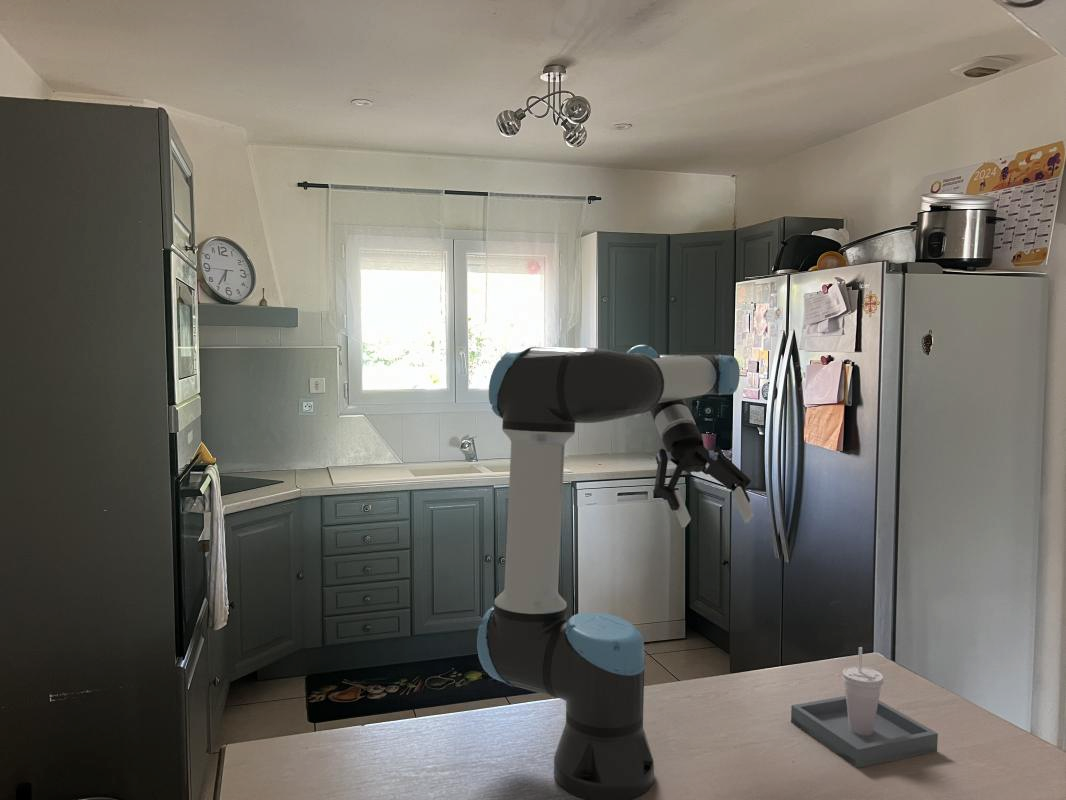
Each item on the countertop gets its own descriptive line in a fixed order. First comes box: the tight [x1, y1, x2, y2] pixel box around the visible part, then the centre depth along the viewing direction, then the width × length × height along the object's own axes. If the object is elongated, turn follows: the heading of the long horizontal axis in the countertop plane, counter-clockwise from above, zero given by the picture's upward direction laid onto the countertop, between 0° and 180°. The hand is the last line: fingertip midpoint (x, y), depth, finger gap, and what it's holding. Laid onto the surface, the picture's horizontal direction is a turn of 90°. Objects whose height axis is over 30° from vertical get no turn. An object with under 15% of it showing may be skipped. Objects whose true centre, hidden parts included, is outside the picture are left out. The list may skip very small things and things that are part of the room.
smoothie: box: [841, 646, 884, 735], centre depth 132 cm, size 6×6×14 cm
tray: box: [790, 695, 939, 769], centre depth 132 cm, size 16×16×3 cm
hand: (718, 521), depth 147 cm, fingers open, 13 cm apart
